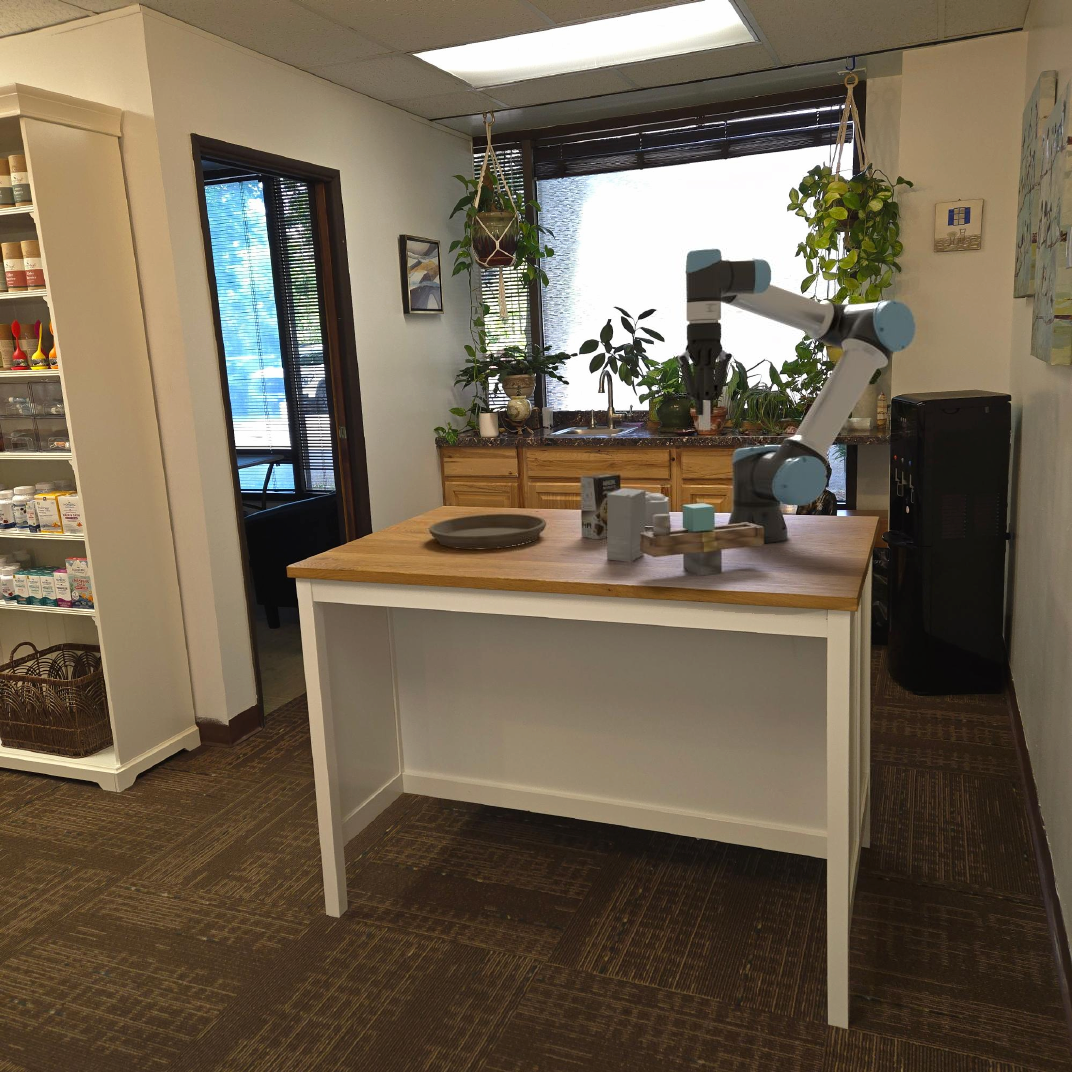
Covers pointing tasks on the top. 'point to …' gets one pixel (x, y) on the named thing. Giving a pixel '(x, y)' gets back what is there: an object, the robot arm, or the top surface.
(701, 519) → the block
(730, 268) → the robot arm
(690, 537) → the beam
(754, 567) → the top surface
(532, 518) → the plant saucer
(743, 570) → the top surface
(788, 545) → the top surface
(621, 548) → the skincare box
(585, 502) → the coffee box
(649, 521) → the lumpy-topped squat cylinder
